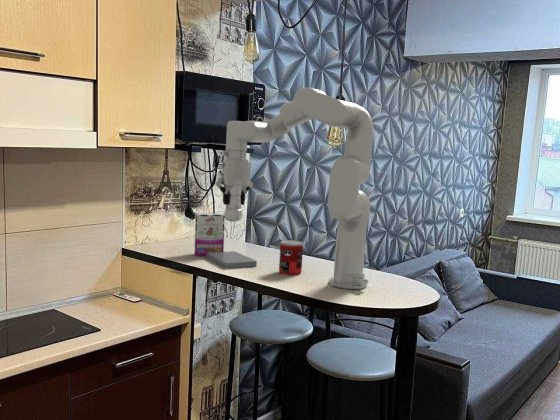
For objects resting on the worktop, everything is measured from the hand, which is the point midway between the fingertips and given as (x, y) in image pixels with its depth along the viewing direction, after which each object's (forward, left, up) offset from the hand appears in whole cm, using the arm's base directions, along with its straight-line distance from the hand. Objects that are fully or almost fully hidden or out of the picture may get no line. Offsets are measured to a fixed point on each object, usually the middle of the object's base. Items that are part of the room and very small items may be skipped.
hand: (233, 203), depth 201 cm
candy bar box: (+14, +3, -22) cm, 26 cm away
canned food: (-21, -13, -22) cm, 33 cm away
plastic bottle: (0, 0, -7) cm, 7 cm away
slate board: (0, 0, -22) cm, 22 cm away
